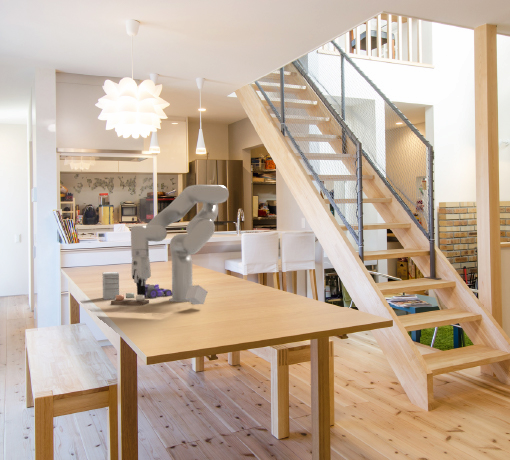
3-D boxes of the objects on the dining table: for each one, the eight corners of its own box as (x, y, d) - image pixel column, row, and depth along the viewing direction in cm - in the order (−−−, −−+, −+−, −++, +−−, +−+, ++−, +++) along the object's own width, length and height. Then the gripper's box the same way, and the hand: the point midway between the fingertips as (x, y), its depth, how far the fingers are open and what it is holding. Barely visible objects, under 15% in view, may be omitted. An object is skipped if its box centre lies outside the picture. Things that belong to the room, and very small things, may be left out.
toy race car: (176, 296, 241) (176, 283, 241) (149, 299, 231) (149, 285, 231) (166, 294, 248) (166, 282, 248) (140, 297, 239) (140, 284, 239)
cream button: (145, 299, 214) (145, 295, 214) (142, 300, 211) (142, 296, 211) (138, 299, 215) (138, 295, 215) (134, 300, 212) (134, 296, 212)
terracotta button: (125, 299, 217) (125, 294, 217) (121, 300, 213) (121, 295, 213) (118, 299, 217) (118, 294, 217) (114, 300, 214) (114, 295, 214)
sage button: (135, 297, 215) (135, 292, 215) (131, 298, 212) (131, 293, 212) (128, 297, 216) (128, 292, 216) (124, 298, 213) (124, 293, 213)
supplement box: (102, 298, 235) (102, 272, 236) (118, 297, 238) (117, 271, 238) (103, 299, 229) (103, 273, 229) (119, 298, 231) (119, 272, 231)
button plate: (149, 303, 215) (149, 299, 215) (143, 305, 209) (143, 301, 209) (117, 302, 219) (117, 299, 219) (110, 304, 213) (110, 301, 213)
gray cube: (184, 298, 207) (189, 286, 210) (193, 304, 210) (198, 292, 213) (194, 297, 203) (198, 285, 206) (203, 303, 207) (207, 291, 210)
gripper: (140, 254, 205) (141, 297, 205) (155, 252, 220) (156, 292, 220) (124, 254, 207) (125, 297, 207) (140, 252, 221) (141, 292, 221)
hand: (141, 294), depth 213 cm, fingers closed
